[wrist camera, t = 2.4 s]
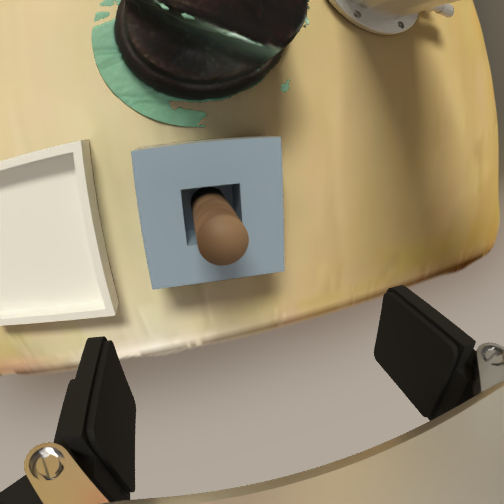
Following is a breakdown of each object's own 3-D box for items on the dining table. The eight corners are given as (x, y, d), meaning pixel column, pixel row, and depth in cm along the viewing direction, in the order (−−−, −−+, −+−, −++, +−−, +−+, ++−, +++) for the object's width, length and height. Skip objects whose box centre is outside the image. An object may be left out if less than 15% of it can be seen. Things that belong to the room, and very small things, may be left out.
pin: (224, 184, 28) (247, 213, 18) (226, 217, 29) (250, 262, 20) (189, 188, 27) (194, 219, 18) (192, 221, 28) (200, 268, 19)
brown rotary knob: (335, -8, 24) (385, -40, 15) (261, 156, 29) (296, 169, 20) (156, -76, 17) (154, -129, 9) (61, 89, 22) (15, 76, 14)
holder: (264, 135, 28) (280, 136, 23) (268, 249, 32) (284, 271, 27) (139, 147, 26) (131, 151, 21) (155, 264, 30) (152, 289, 25)
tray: (88, 139, 24) (80, 140, 22) (118, 302, 30) (115, 315, 28) (-42, 176, 21) (-55, 180, 19) (-4, 314, 27) (-12, 326, 25)
